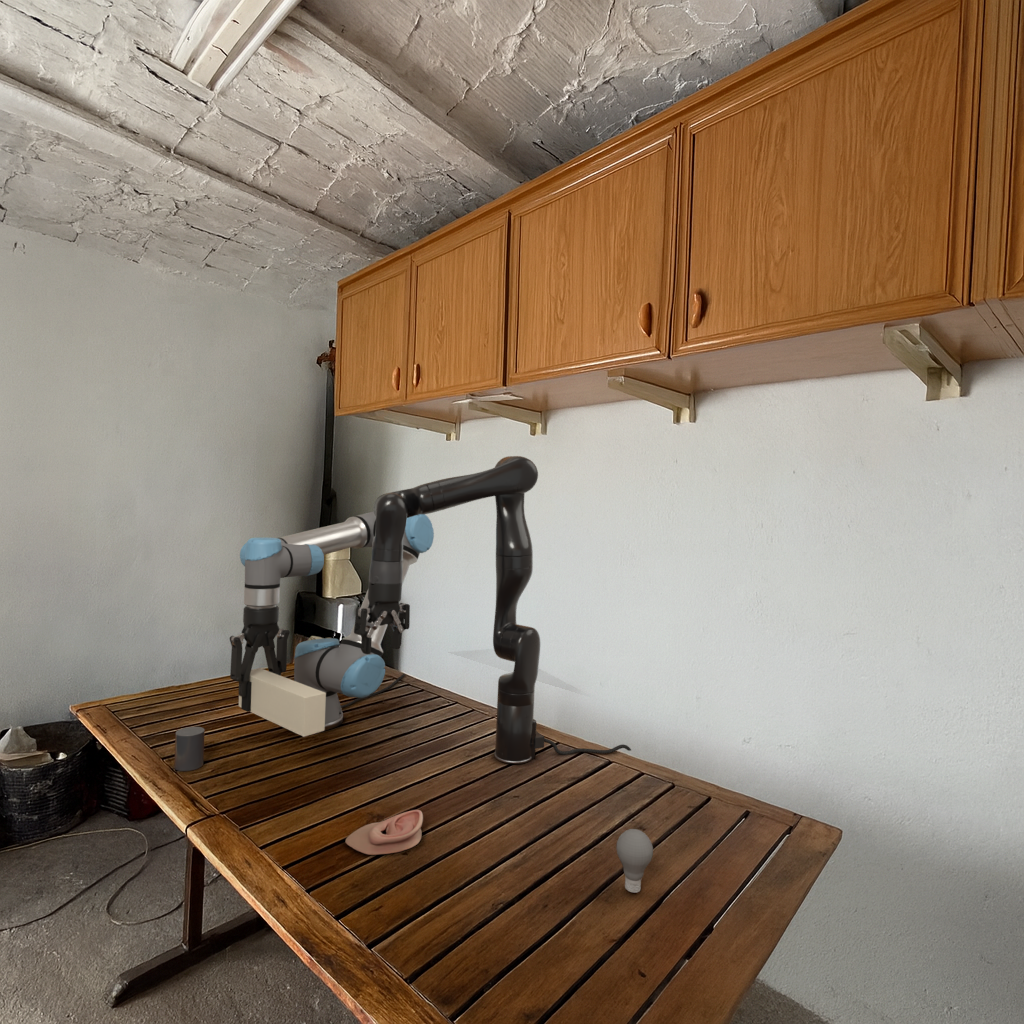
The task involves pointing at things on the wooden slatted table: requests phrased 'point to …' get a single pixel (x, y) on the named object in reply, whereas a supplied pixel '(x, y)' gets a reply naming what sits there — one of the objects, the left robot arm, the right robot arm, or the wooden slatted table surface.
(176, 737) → the dark grey cylinder
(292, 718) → the plank
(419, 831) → the anatomical model
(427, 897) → the wooden slatted table surface
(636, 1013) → the wooden slatted table surface
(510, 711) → the right robot arm
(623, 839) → the light bulb
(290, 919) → the wooden slatted table surface
